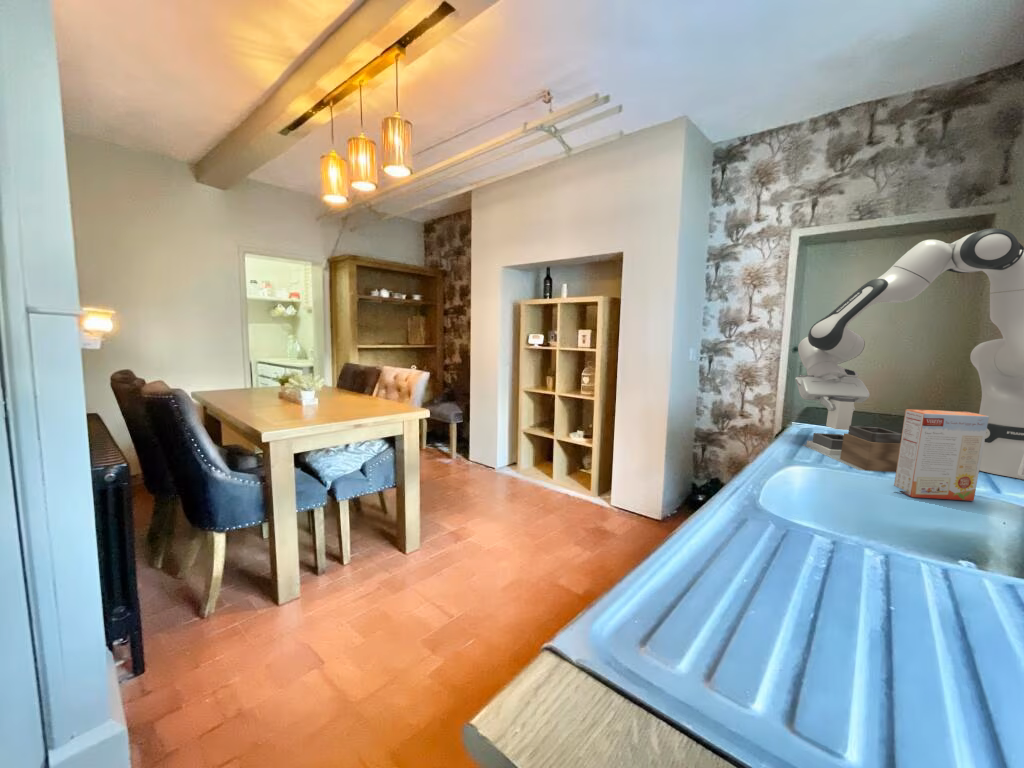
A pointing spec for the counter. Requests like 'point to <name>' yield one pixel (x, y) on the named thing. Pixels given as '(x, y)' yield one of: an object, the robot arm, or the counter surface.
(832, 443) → the lower jack
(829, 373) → the robot arm
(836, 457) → the console board
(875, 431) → the upper stand
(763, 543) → the counter surface
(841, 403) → the plug
